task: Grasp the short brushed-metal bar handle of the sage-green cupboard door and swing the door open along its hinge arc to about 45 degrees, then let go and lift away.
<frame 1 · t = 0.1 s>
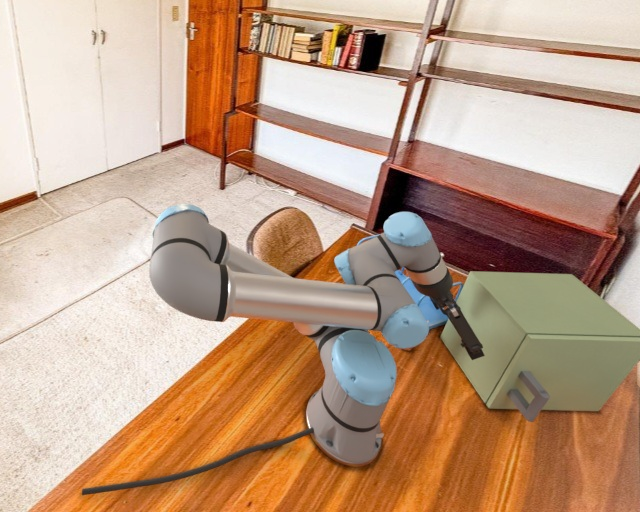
hand: (458, 330, 91), 15 cm above the table, tool tilted 35°, fingers open, 13 cm apart
file sorter: (394, 297, 120), on the table
door: (577, 388, 83), point 12 cm above the table, hinge at 0.0°
cupboard: (510, 369, 100), on the table
milkshake: (406, 346, 105), on the table
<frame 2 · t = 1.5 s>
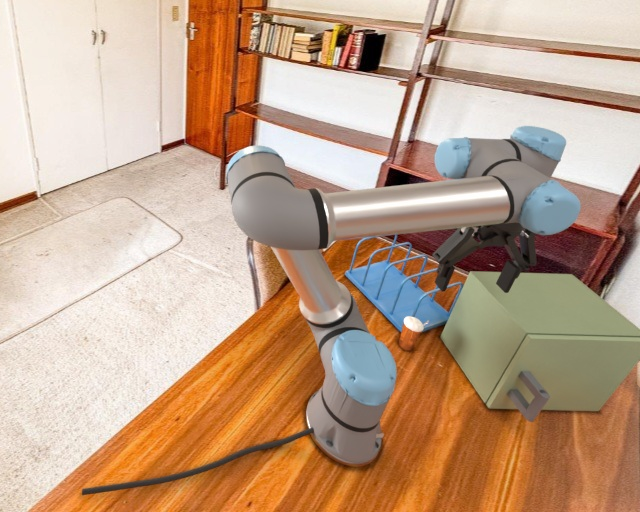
hand: (470, 287, 85), 29 cm above the table, tool pointing down, fingers open, 13 cm apart
nothing on the table moved.
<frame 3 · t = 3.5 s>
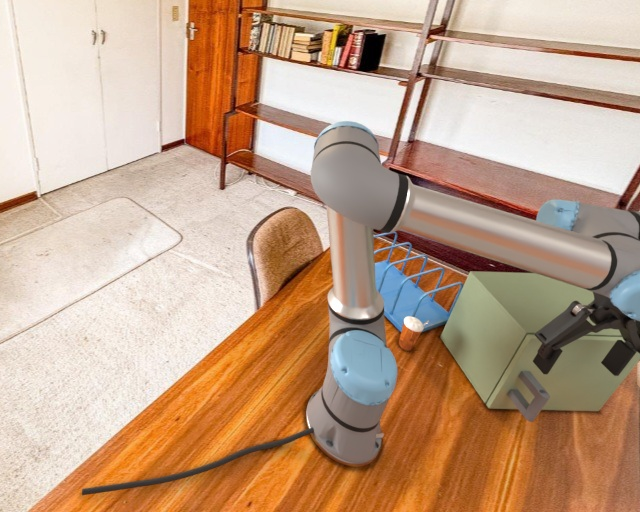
hand: (574, 368, 76), 22 cm above the table, tool pointing down, fingers open, 13 cm apart
nothing on the table moved.
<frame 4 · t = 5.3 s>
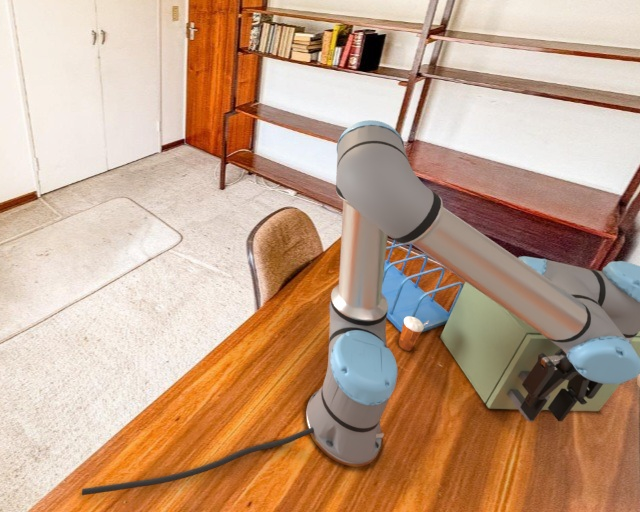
hand: (540, 413, 83), 7 cm above the table, tool pointing down, fingers open, 5 cm apart
door: (577, 388, 83), point 12 cm above the table, hinge at 0.0°, touching gripper
everything else where it was.
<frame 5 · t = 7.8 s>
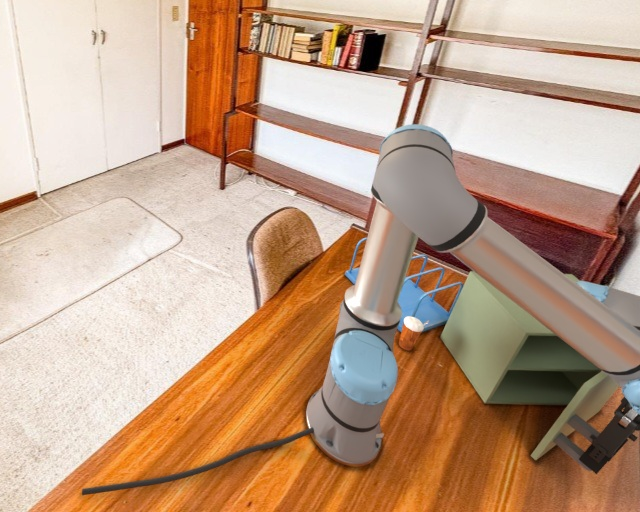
hand: (594, 459, 75), 7 cm above the table, tool pointing down, fingers open, 4 cm apart
door: (610, 412, 79), point 12 cm above the table, hinge at 24.2°, touching gripper
everything else where it was.
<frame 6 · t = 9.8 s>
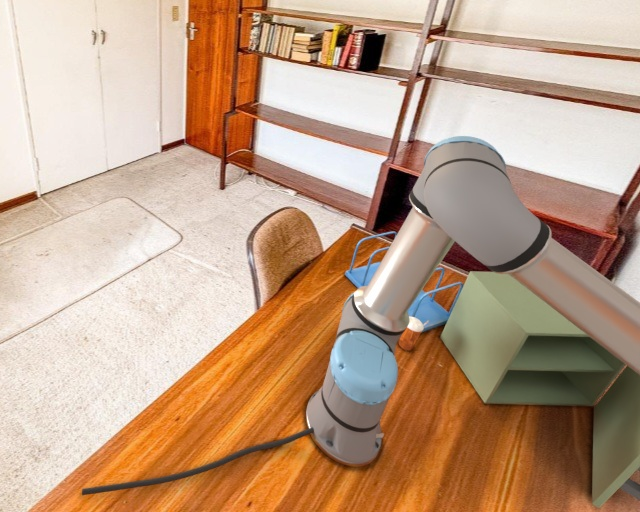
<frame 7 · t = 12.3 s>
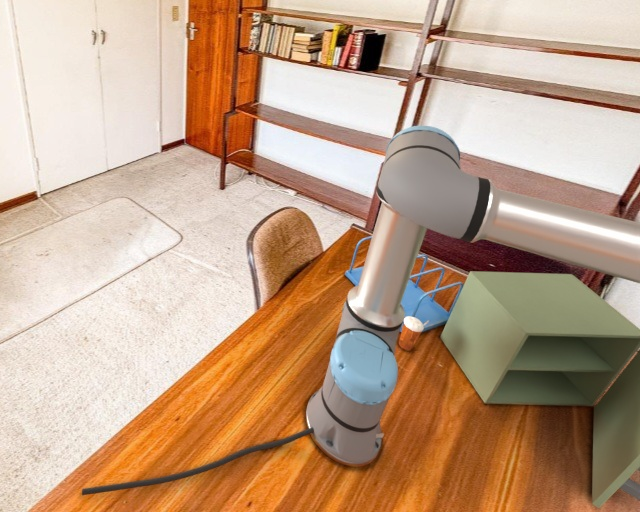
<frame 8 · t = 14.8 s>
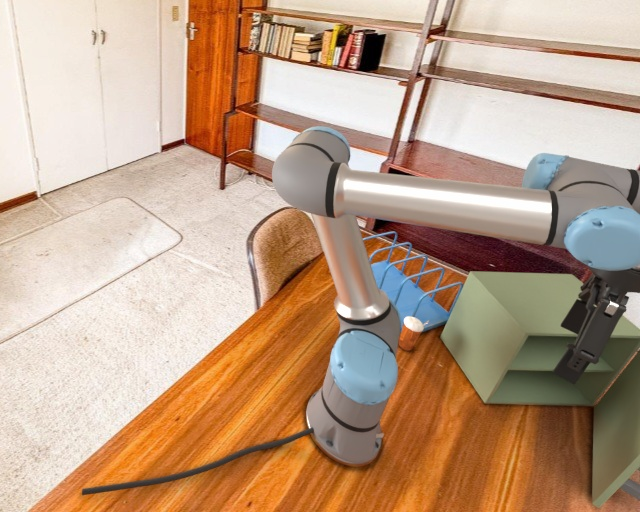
hand: (566, 352, 69), 31 cm above the table, tool pointing down, fingers open, 13 cm apart
at the end: door at +46° (first picture: +0°) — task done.
